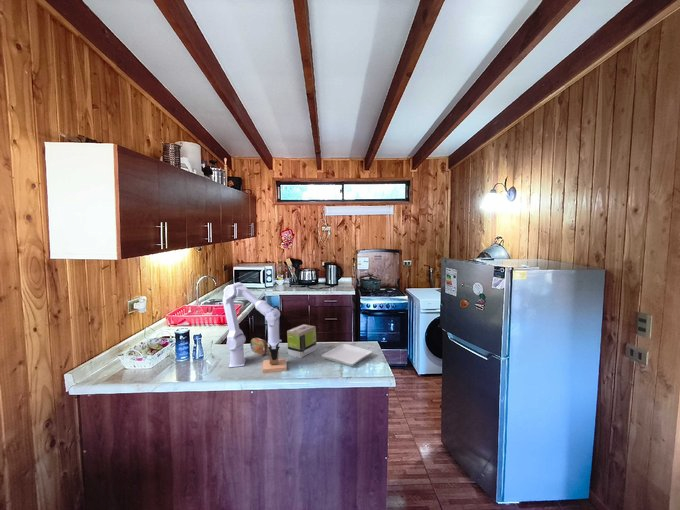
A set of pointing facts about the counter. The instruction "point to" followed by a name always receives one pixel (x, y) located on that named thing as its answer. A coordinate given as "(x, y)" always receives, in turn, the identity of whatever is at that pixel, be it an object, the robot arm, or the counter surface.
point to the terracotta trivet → (274, 366)
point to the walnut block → (273, 360)
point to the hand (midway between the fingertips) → (274, 357)
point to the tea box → (301, 340)
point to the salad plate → (347, 354)
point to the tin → (259, 346)
